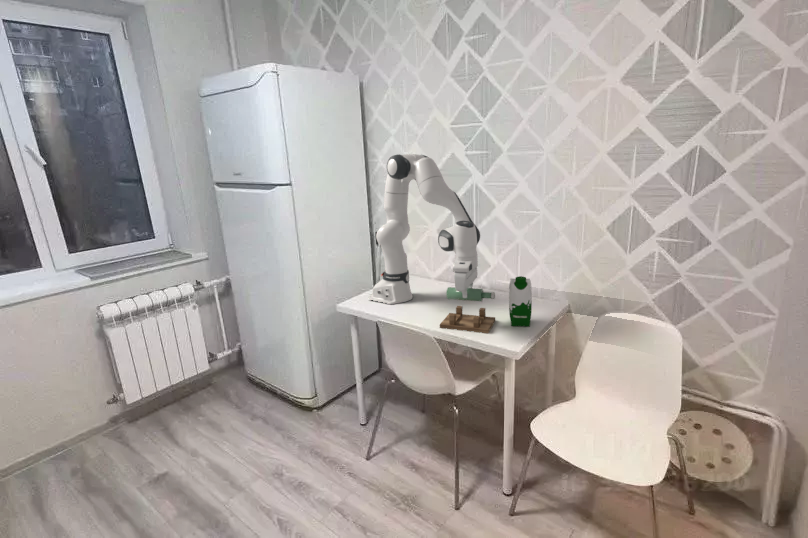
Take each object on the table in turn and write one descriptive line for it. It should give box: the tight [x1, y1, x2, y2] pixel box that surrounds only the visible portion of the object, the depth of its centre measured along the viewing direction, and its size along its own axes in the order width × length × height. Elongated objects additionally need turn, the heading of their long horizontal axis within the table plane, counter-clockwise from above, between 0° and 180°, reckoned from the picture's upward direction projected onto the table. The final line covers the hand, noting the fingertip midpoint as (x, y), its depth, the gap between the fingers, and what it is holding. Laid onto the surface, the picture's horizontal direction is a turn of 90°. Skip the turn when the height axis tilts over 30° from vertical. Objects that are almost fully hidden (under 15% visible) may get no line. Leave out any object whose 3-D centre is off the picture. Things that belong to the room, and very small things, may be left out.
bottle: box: [445, 286, 496, 302], centre depth 169 cm, size 19×5×5 cm
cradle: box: [439, 305, 496, 334], centre depth 172 cm, size 13×20×6 cm, turn 66°
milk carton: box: [508, 275, 533, 328], centre depth 168 cm, size 9×9×20 cm
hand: (467, 295), depth 169 cm, fingers closed on bottle, 5 cm apart
